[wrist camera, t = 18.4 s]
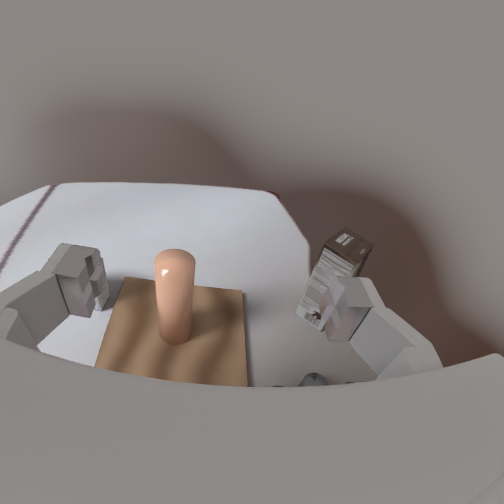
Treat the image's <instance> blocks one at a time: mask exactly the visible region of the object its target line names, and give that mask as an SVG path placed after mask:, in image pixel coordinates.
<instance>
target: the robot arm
mask: <svg viewBox="0 0 504 504" xmlns="http://www.w3.org/2000/svg"><path fill="white" fill-rule="evenodd" d="M100 260H101V256H100V251H99V250H98V249H97V248H91V247H85V246H78V245H71V244H65V243H62V244H59V246H58V247H57V248H56V250H55V251H54V252H53V254H52V255H51V257H50V258H49V259H48V261H47V262H46V264H45V265H44V267H43V268H42V269H41V271H36V272H34V273H32V274H31V275H29V276H27V277H26V278H24V279H22V280H20V281H19V282H17V283H15V284H14V285H12V286H11V287H9V288H7V289H6V290H4V291H2V292H1V293H0V504H504V358H503V357H502V356H501V355H499V354H490V355H487V356H484V357H481V358H478V359H474V360H471V361H467V362H464V363H460V364H457V365H453V366H449V367H445V368H443V366H442V363H441V362H440V359H439V357H438V355H437V353H436V351H435V349H434V347H433V345H432V343H431V342H430V341H428V340H427V339H426V338H425V337H424V336H422V335H421V334H420V333H419V332H418V331H416V330H415V329H414V328H413V327H411V326H410V325H409V324H408V323H407V322H405V321H404V320H403V319H402V318H400V317H399V316H398V315H397V314H395V313H394V312H393V311H392V310H390V309H389V308H386V307H385V305H384V303H383V301H382V300H381V298H380V296H379V294H378V292H377V290H376V288H375V286H374V285H373V283H372V281H371V280H370V279H369V278H362V277H345V276H332V277H331V278H330V279H329V281H328V287H329V289H328V290H326V291H325V292H324V293H323V294H322V297H321V299H320V305H319V310H320V315H321V318H322V319H323V320H325V321H326V324H325V326H324V328H325V332H326V335H327V338H328V341H349V342H348V343H349V344H350V345H351V346H352V347H353V348H354V350H355V351H356V352H357V353H358V354H359V355H360V356H361V358H362V359H363V360H364V361H365V362H366V363H367V364H368V366H369V367H370V368H371V369H372V370H373V371H374V372H375V374H376V375H377V377H376V378H375V379H374V380H373V381H367V382H358V383H349V384H338V385H325V386H307V387H236V386H218V385H205V384H194V383H185V382H176V381H168V380H161V379H154V378H147V377H141V376H136V375H130V374H125V373H120V372H115V371H110V370H105V369H101V368H96V367H92V366H88V365H84V364H80V363H76V362H73V361H69V360H66V359H62V358H59V357H55V356H52V355H49V354H46V353H43V352H41V351H40V350H39V348H38V347H37V345H38V344H39V343H40V342H41V341H42V340H43V339H44V338H45V337H46V336H47V335H49V334H50V333H51V332H52V331H53V330H54V329H55V328H56V327H57V326H58V325H60V324H61V323H62V322H63V321H64V320H65V319H66V318H67V317H69V316H70V315H69V314H71V315H76V316H81V317H87V318H90V317H91V315H92V312H93V310H94V307H95V305H96V302H95V298H96V297H97V296H99V295H100V293H101V291H102V289H103V283H104V272H103V268H102V267H101V266H100V265H99V264H98V263H99V262H100Z"/></svg>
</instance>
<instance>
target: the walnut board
mask: <svg viewBox="0 0 504 504" xmlns="http://www.w3.org/2000/svg"><path fill="white" fill-rule="evenodd" d="M95 367H96V368H101V369H105V370H110V371H115V372H120V373H125V374H130V375H136V376H141V377H147V378H154V379H161V380H168V381H176V382H185V383H194V384H205V385H218V386H236V387H248V380H247V365H246V349H245V333H244V316H243V298H242V290H232V289H222V288H213V287H204V286H195V285H194V289H193V304H192V323H191V336H190V338H189V339H188V340H187V341H186V342H185V343H183V344H179V345H172V344H169V343H166V342H165V341H164V340H163V339H162V338H161V337H160V334H159V325H158V313H157V300H156V284H155V281H154V280H146V279H139V278H132V277H125V279H124V282H123V284H122V287H121V290H120V292H119V295H118V297H117V300H116V303H115V306H114V308H113V311H112V314H111V317H110V320H109V322H108V325H107V328H106V331H105V334H104V337H103V340H102V344H101V347H100V350H99V353H98V357H97V360H96V363H95Z"/></svg>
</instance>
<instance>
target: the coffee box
mask: <svg viewBox="0 0 504 504" xmlns="http://www.w3.org/2000/svg"><path fill="white" fill-rule="evenodd" d="M373 246H374V244H373V243H371V242H369V241H367V240H366V239H364V238H363V237H362V236H360V235H359V234H357V233H355V232H353V231H352V230H350V229H348V228H346V227H344V228H343V229H342V230H340V232H338V233H337V234H335V235H334V236H333V237H331V238H330V239H329V240H328V241H326V242H325V243H324V244H323V247H322V250H321V252H320V255H319V257H318V260H317V262H316V265H315V267H314V270H313V272H312V275H311V277H310V279H309V282H308V284H307V286H306V289H305V291H304V293H303V296H302V298H301V300H300V303H299V305H298V307H297V310H296V312H295V314H296V315H297V316H299V317H300V318H302V319H303V320H304V321H306V322H307V323H309V324H310V325H311V326H313V327H314V328H316V329H317V330H318V331H320V332H321V331H322V330H323V329H324V326H325V324H326V321H325V320H323V319H322V318H321V315H320V310H319V305H320V299H321V297H322V294H323V293H324V292H325V291H326V290H328V289H329V287H328V281H329V279H330V278H331V277H332V276H345V277H358V276H359V274H360V272H361V271H362V269H363V267H364V265H365V263H366V260H367V259H368V256H369V254H370V252H371V250H372V248H373Z"/></svg>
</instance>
